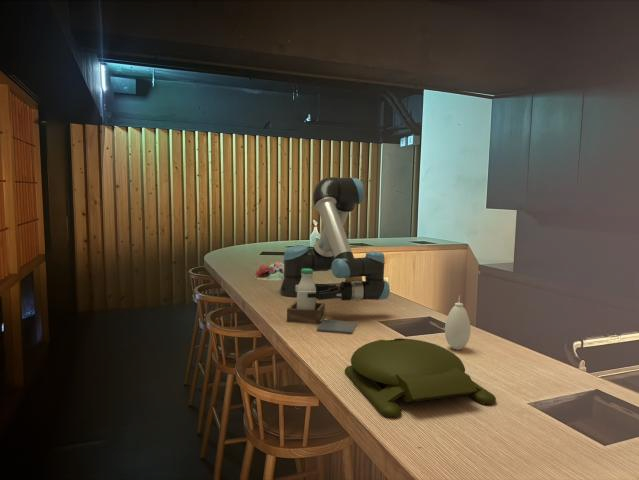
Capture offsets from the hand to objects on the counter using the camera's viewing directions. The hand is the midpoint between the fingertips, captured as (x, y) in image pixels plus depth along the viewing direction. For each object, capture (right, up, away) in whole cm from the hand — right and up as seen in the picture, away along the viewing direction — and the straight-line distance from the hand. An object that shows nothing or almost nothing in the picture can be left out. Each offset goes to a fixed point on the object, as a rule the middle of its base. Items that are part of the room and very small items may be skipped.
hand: (297, 291), depth 182 cm
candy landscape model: (-17, -2, +88) cm, 89 cm away
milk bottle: (+4, -11, +2) cm, 12 cm away
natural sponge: (+26, -6, +53) cm, 60 cm away
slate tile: (+16, -12, -10) cm, 22 cm away
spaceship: (+33, -19, -57) cm, 69 cm away
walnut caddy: (+4, -11, +2) cm, 12 cm away
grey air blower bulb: (+54, -16, -31) cm, 64 cm away
